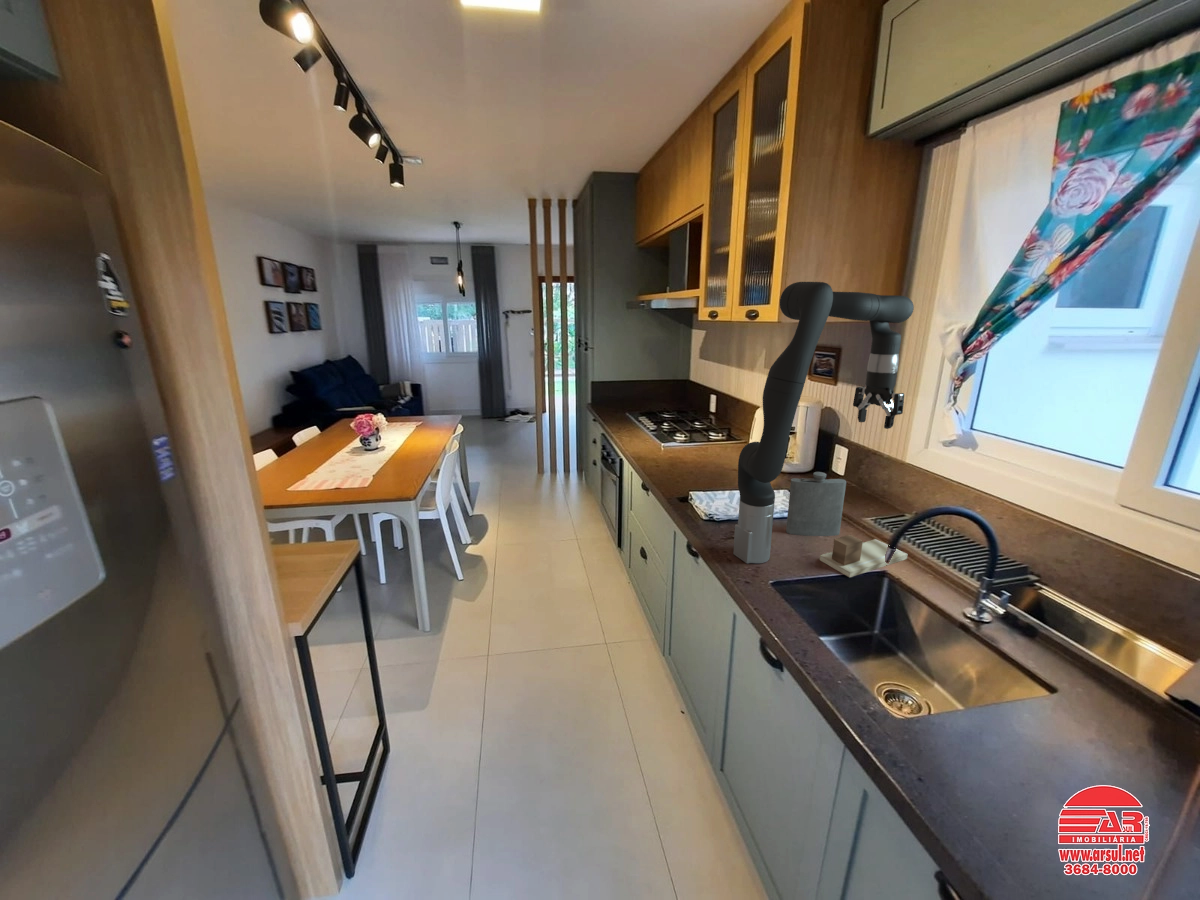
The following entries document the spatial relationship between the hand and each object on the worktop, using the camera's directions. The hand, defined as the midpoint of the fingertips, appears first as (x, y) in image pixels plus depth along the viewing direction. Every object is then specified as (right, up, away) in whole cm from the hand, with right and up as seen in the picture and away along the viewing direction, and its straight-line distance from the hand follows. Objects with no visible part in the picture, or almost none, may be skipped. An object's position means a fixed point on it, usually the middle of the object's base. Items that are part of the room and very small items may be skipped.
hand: (874, 425), depth 143 cm
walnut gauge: (-13, -37, -9) cm, 41 cm away
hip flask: (-14, -34, +10) cm, 38 cm away
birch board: (-7, -38, -6) cm, 39 cm away
